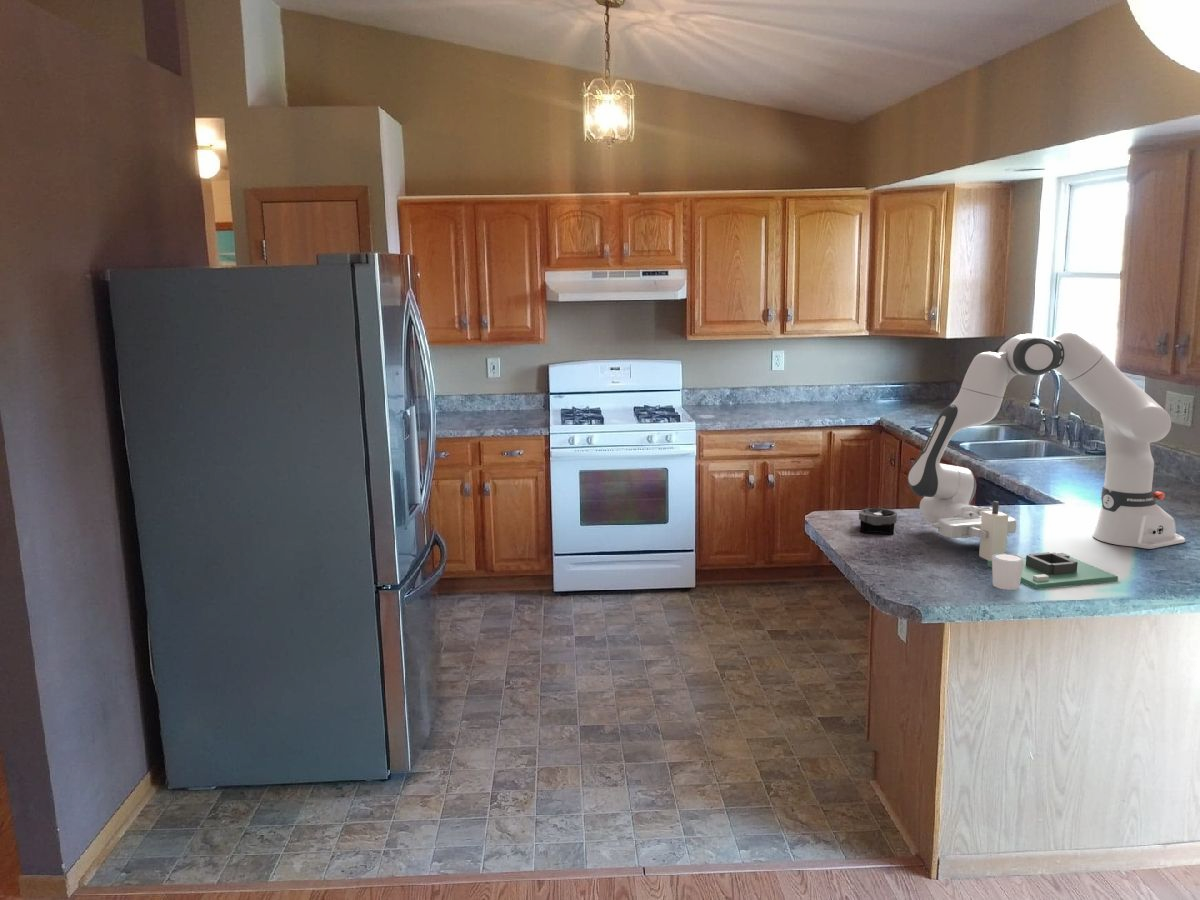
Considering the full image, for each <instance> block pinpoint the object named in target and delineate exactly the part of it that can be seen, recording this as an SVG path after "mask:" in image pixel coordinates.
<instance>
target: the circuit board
mask: <svg viewBox="0 0 1200 900" xmlns="http://www.w3.org/2000/svg"><path fill="white" fill-rule="evenodd" d="M1023 558H1024V564H1023V569H1022V575H1021V580H1020V583H1022V584H1025V585H1027V586H1029V587H1031V588H1033V589H1035V590H1043V589H1045V590H1046V589H1053V588H1054V589H1055V588H1063V587H1072V586H1083V584H1084V585H1091V584H1090V583H1094V584H1102V583H1101V582H1104V583H1113V582H1118V580H1119V576H1118V575H1116V574H1113V573H1111V572H1109V571H1106V570H1104V569H1101V568H1099V567H1096V566H1094V565H1091V564H1089V563H1086V562H1084V561H1081V560H1080V559H1077V558H1074V557H1072V556H1070V555H1069V554H1066V553H1064V552H1059V553H1056V552H1050V551H1049V552H1038V553H1029V554H1027V555H1026V557H1023ZM986 563H987V564H986V566H987V567H989V568H991V569H992V561H989V560H987V561H986Z"/></svg>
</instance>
